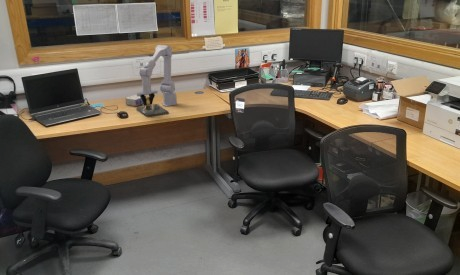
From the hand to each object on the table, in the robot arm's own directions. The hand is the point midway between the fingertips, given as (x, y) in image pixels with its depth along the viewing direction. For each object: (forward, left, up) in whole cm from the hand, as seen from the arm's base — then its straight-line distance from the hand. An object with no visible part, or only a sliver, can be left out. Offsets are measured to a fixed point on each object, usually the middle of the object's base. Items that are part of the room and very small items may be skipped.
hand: (148, 104), depth 274 cm
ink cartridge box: (+4, -24, -4) cm, 25 cm away
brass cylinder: (0, 0, -2) cm, 2 cm away
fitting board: (-4, -3, -6) cm, 8 cm away
